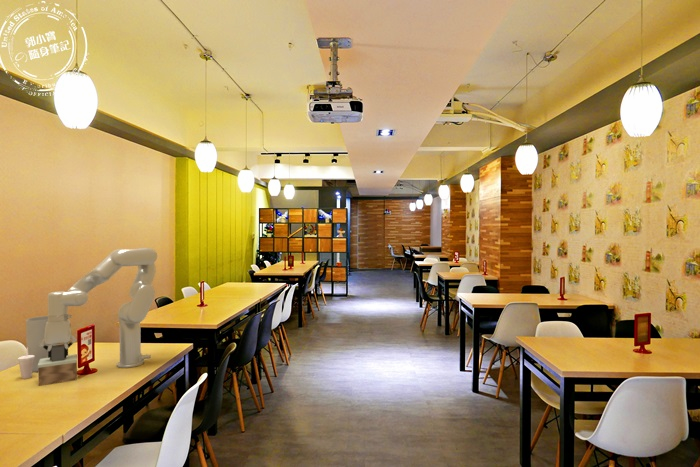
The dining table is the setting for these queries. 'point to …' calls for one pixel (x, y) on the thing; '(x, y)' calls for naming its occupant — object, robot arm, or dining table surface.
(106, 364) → the dining table surface
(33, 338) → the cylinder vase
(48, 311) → the robot arm
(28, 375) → the smoothie
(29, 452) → the dining table surface
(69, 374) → the wooden box
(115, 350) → the dining table surface
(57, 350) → the lid
